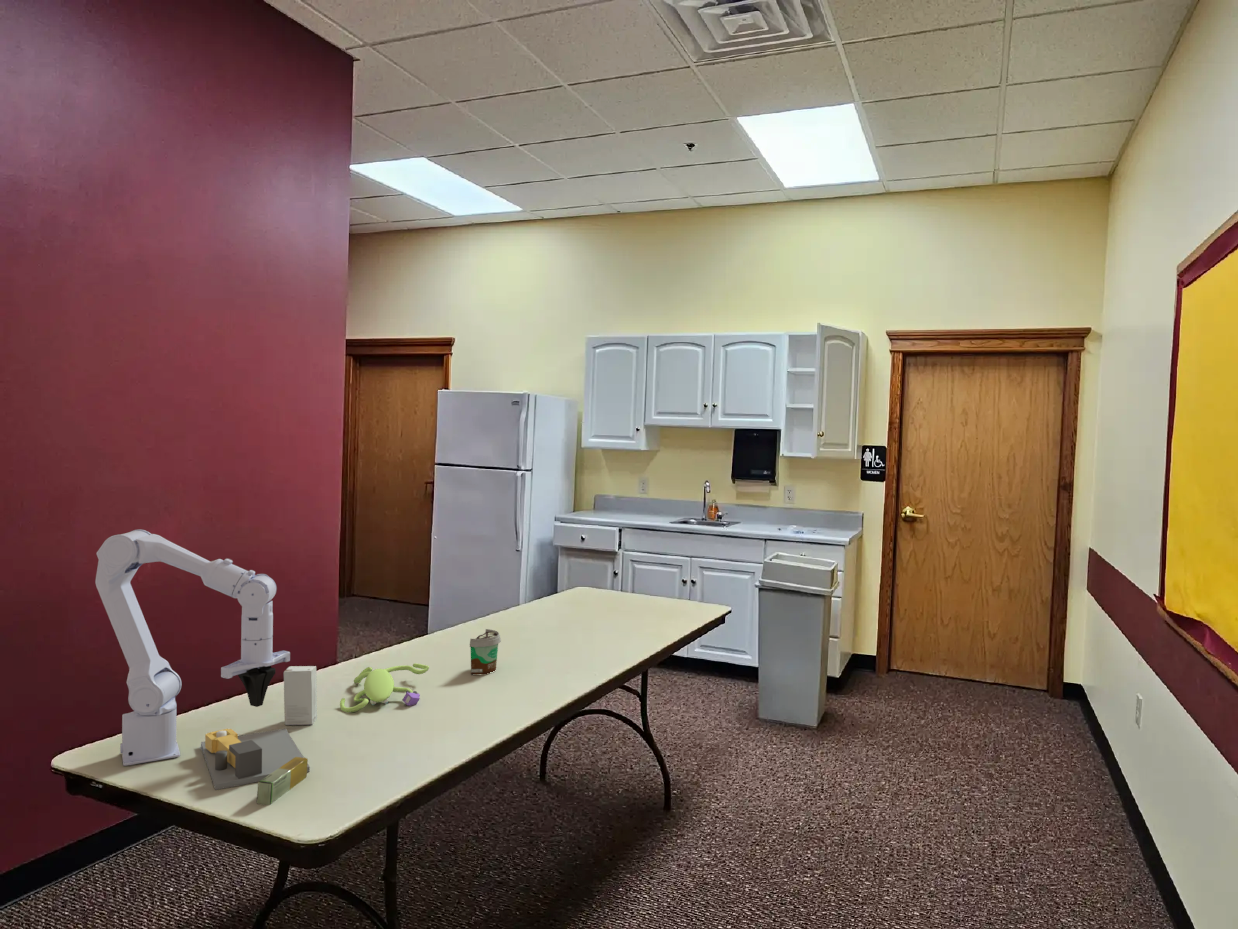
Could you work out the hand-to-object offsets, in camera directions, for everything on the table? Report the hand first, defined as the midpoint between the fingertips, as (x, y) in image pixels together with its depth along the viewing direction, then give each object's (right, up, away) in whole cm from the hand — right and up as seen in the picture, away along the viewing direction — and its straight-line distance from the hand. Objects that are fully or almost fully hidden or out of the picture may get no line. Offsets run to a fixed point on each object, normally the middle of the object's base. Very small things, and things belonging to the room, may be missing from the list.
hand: (256, 705), depth 162 cm
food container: (+36, -9, +60) cm, 70 cm away
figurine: (+15, -9, +38) cm, 42 cm away
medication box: (+12, -11, -16) cm, 23 cm away
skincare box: (+2, -9, +17) cm, 20 cm away
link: (-3, -8, -5) cm, 10 cm away
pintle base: (+1, -10, -3) cm, 10 cm away
